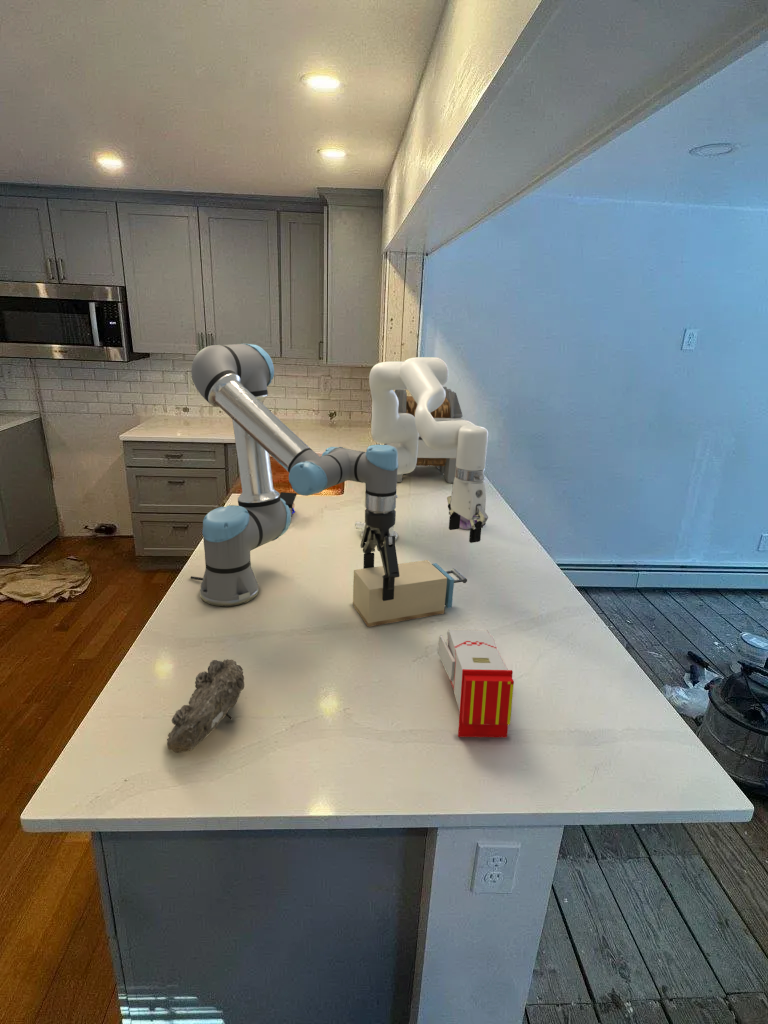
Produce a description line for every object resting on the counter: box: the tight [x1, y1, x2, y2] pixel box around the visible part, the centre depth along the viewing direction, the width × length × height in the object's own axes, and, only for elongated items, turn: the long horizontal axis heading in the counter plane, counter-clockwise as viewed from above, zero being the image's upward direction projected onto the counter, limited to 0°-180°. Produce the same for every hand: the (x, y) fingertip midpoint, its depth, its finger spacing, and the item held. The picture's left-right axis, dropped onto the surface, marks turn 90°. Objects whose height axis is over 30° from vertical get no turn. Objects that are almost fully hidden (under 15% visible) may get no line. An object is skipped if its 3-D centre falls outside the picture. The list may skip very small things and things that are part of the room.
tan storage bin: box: [352, 559, 447, 628], centre depth 148 cm, size 21×12×10 cm, turn 112°
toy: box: [437, 628, 515, 738], centre depth 117 cm, size 12×13×30 cm
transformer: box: [383, 386, 465, 484], centre depth 268 cm, size 34×33×41 cm
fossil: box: [166, 658, 245, 754], centre depth 106 cm, size 22×10×15 cm
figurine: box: [458, 514, 477, 530], centre depth 208 cm, size 9×10×15 cm
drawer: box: [431, 562, 468, 609], centre depth 150 cm, size 25×10×8 cm, turn 112°
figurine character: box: [279, 492, 298, 518], centre depth 210 cm, size 7×8×15 cm
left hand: (377, 587), depth 145 cm, fingers open, 13 cm apart
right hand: (464, 535), depth 152 cm, fingers open, 9 cm apart
